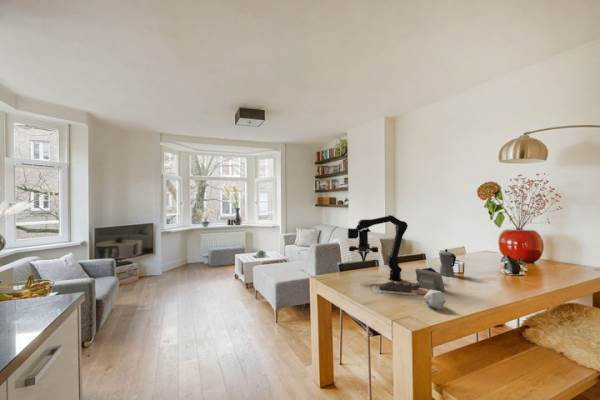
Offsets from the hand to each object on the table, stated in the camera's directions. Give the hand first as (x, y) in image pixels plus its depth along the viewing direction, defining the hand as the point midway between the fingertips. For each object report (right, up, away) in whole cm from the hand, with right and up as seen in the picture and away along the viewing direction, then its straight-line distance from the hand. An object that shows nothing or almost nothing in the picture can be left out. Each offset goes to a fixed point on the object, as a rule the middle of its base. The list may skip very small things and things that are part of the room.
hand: (363, 261), depth 181 cm
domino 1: (+5, -11, -19) cm, 23 cm away
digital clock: (+35, -12, -19) cm, 41 cm away
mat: (+12, -12, -22) cm, 28 cm away
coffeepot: (+60, -11, +8) cm, 62 cm away
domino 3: (+13, -11, -22) cm, 28 cm away
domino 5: (+21, -11, -25) cm, 35 cm away
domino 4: (+17, -11, -24) cm, 31 cm away
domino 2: (+9, -11, -21) cm, 25 cm away
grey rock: (+24, -12, -47) cm, 54 cm away
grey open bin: (+40, -12, -5) cm, 42 cm away
